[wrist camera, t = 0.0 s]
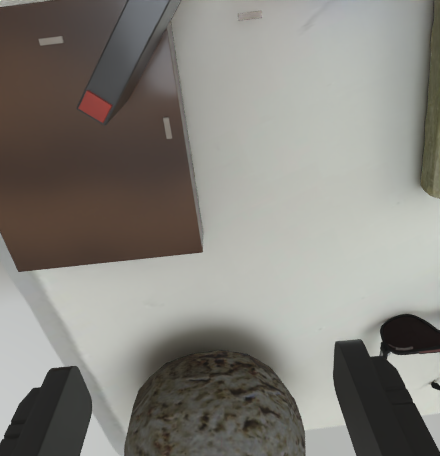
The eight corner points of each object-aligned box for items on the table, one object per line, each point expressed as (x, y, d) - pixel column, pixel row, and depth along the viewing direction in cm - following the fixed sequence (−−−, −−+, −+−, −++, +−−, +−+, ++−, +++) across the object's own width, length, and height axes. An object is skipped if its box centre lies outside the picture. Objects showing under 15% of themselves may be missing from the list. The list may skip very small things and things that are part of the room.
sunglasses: (483, 301, 37) (516, 345, 33) (447, 371, 45) (470, 414, 41) (374, 309, 38) (394, 353, 34) (356, 377, 45) (371, 420, 41)
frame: (177, -60, 21) (165, -85, 15) (202, -40, 21) (200, -57, 16) (104, 87, 24) (73, 110, 19) (127, 102, 25) (103, 128, 19)
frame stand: (-103, -71, 22) (-147, -82, 20) (249, -120, 22) (254, -138, 19) (33, 251, 34) (17, 273, 31) (268, 226, 33) (273, 246, 30)
